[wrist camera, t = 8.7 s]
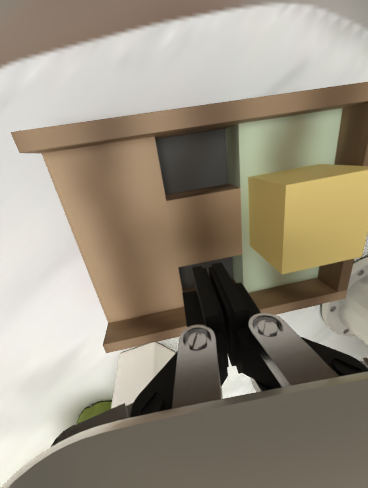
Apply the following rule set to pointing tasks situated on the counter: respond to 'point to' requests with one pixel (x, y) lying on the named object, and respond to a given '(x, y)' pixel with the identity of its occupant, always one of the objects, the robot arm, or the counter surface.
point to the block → (309, 215)
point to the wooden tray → (193, 199)
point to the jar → (138, 371)
